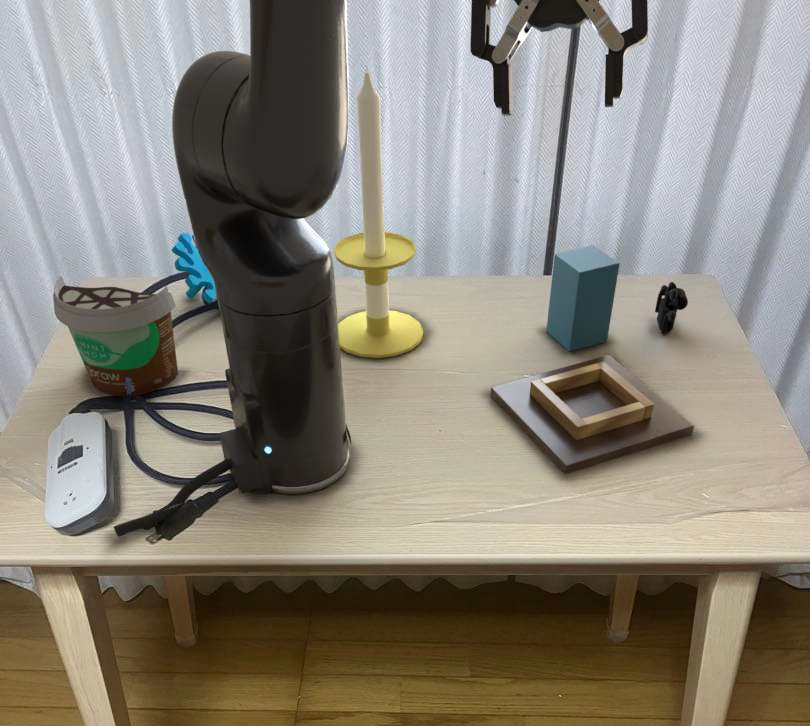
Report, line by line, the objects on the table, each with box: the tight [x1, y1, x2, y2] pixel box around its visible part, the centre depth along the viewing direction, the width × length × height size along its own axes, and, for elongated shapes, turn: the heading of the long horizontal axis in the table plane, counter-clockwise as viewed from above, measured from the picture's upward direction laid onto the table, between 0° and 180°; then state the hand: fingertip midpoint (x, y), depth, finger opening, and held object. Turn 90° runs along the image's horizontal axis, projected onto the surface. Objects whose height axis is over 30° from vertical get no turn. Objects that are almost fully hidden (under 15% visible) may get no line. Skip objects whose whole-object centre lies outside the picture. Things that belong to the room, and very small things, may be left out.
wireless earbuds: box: [654, 281, 689, 336], centre depth 94 cm, size 7×2×5 cm, turn 176°
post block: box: [545, 244, 621, 352], centre depth 91 cm, size 5×5×9 cm
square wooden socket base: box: [490, 354, 695, 475], centre depth 83 cm, size 14×14×2 cm
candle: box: [333, 64, 424, 359], centre depth 86 cm, size 10×10×27 cm
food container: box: [52, 276, 179, 397], centre depth 85 cm, size 12×6×10 cm, turn 77°
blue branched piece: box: [171, 232, 217, 304], centre depth 101 cm, size 11×6×10 cm
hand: (557, 110), depth 73 cm, fingers open, 8 cm apart
